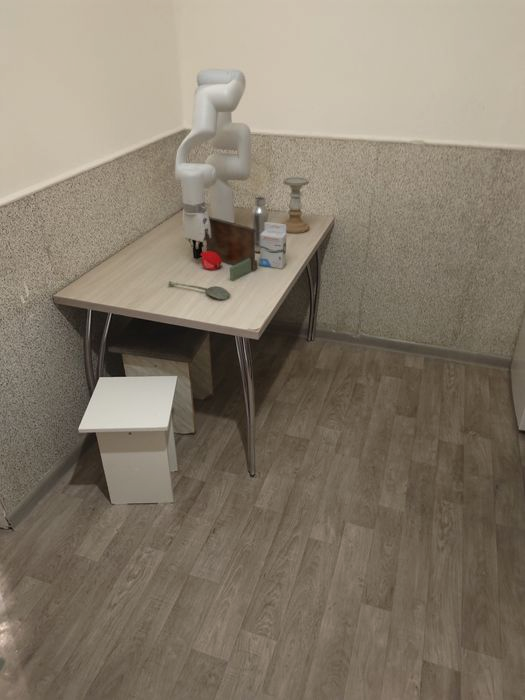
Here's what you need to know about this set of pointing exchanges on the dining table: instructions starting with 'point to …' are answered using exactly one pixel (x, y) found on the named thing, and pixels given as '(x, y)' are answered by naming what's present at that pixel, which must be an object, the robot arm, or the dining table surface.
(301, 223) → the candle holder
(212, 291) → the soupspoon
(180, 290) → the dining table surface
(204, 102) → the robot arm
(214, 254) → the red rounded piece
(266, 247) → the ink box
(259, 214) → the silver metal bottle
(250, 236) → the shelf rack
